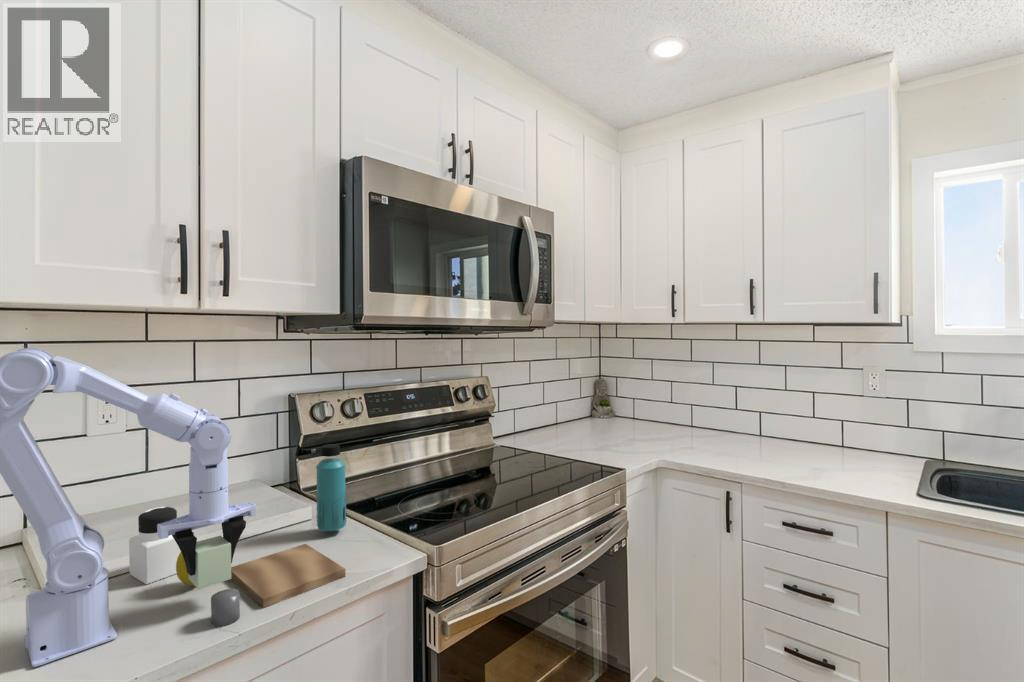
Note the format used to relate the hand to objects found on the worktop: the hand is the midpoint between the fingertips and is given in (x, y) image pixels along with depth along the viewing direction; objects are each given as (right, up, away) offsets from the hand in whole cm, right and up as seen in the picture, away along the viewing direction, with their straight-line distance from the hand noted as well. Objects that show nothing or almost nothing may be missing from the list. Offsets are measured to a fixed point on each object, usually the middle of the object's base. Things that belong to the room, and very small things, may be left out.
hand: (209, 567), depth 89 cm
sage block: (0, -2, 0) cm, 2 cm away
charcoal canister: (+5, -6, -4) cm, 9 cm away
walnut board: (+9, -6, +10) cm, 14 cm away
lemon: (-6, -6, +6) cm, 11 cm away
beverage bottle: (+10, -5, +30) cm, 32 cm away
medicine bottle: (-16, -6, +11) cm, 20 cm away
